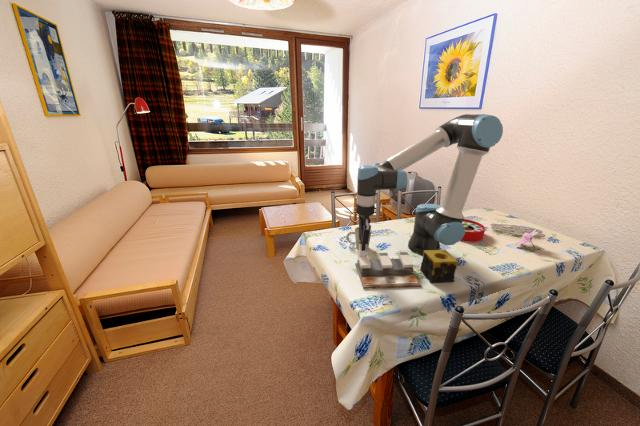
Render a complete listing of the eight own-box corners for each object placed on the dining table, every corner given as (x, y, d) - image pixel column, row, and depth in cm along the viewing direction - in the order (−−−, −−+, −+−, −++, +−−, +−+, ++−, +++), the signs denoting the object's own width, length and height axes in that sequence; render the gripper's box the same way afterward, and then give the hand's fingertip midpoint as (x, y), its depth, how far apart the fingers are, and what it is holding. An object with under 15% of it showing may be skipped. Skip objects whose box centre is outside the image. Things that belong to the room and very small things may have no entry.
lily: (524, 242, 147) (517, 227, 146) (550, 243, 137) (543, 226, 135) (513, 254, 142) (506, 239, 141) (539, 256, 132) (532, 238, 130)
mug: (370, 252, 136) (371, 234, 132) (344, 250, 138) (345, 231, 135) (370, 244, 143) (371, 227, 140) (346, 242, 146) (347, 225, 142)
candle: (419, 270, 120) (422, 250, 117) (441, 269, 121) (445, 248, 118) (430, 284, 111) (433, 262, 107) (454, 282, 112) (458, 261, 108)
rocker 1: (366, 258, 121) (366, 253, 120) (370, 269, 114) (371, 264, 113) (357, 258, 121) (357, 253, 120) (361, 270, 114) (361, 265, 113)
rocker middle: (386, 256, 122) (387, 252, 121) (391, 269, 115) (392, 265, 114) (377, 257, 122) (378, 252, 120) (382, 269, 115) (383, 265, 114)
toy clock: (469, 235, 141) (437, 222, 158) (467, 245, 143) (436, 231, 160) (493, 227, 150) (460, 216, 166) (491, 237, 152) (459, 225, 168)
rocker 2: (406, 256, 122) (407, 251, 121) (412, 268, 116) (413, 264, 114) (397, 256, 122) (398, 252, 121) (403, 269, 115) (404, 264, 114)
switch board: (405, 263, 126) (405, 256, 124) (421, 286, 109) (422, 279, 108) (355, 265, 124) (355, 258, 123) (363, 289, 108) (364, 281, 106)
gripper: (353, 199, 117) (351, 248, 125) (359, 209, 105) (356, 263, 113) (371, 199, 118) (367, 248, 126) (379, 209, 105) (374, 263, 114)
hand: (362, 255), depth 119 cm, fingers closed
